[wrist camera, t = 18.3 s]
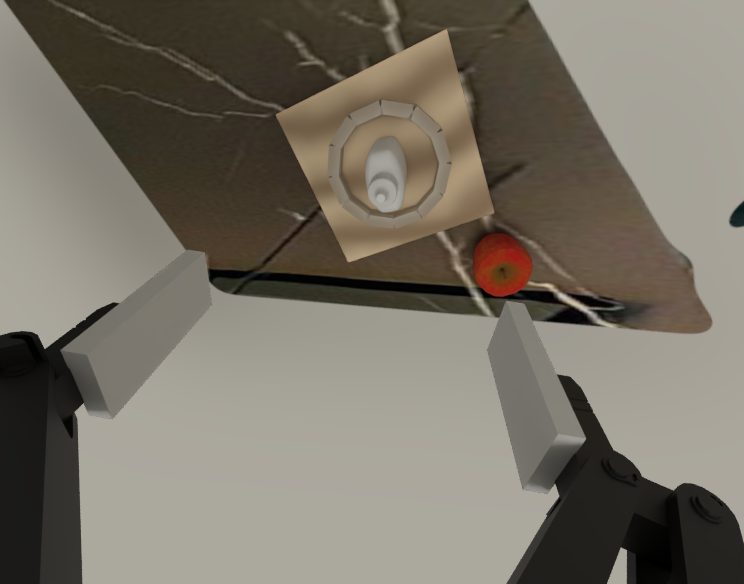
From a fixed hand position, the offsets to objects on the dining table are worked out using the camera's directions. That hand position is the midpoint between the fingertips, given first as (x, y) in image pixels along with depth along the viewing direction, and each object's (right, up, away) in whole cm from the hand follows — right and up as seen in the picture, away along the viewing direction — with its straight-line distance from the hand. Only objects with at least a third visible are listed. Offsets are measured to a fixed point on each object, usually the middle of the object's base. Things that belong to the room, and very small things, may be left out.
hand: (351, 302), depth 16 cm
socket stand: (+3, +15, +24) cm, 29 cm away
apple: (+16, +6, +29) cm, 33 cm away
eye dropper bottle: (+3, +14, +23) cm, 27 cm away
